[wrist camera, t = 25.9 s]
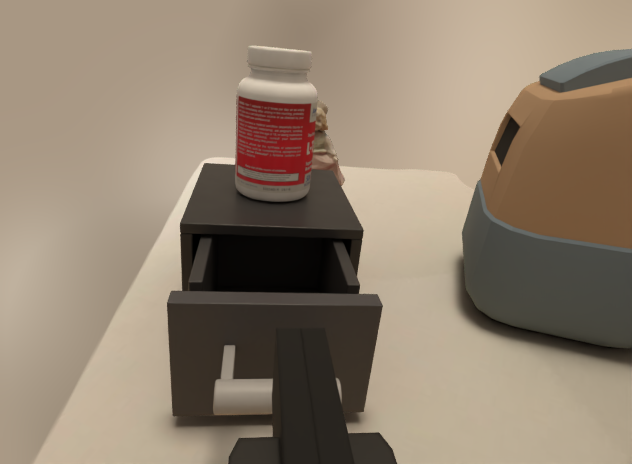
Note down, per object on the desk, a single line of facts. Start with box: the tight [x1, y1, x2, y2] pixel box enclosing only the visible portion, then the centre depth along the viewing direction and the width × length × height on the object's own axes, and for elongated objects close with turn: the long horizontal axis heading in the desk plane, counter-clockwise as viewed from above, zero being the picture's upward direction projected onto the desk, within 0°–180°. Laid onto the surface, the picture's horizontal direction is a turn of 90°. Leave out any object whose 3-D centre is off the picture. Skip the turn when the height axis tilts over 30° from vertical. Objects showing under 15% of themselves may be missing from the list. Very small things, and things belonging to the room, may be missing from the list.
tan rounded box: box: [462, 49, 632, 349], centre depth 39 cm, size 17×17×23 cm
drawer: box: [167, 234, 383, 416], centre depth 29 cm, size 18×11×8 cm, turn 7°
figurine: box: [312, 100, 345, 186], centre depth 59 cm, size 11×10×15 cm
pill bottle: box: [235, 46, 318, 202], centre depth 35 cm, size 6×6×11 cm
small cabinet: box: [180, 163, 364, 291], centre depth 39 cm, size 15×13×10 cm
